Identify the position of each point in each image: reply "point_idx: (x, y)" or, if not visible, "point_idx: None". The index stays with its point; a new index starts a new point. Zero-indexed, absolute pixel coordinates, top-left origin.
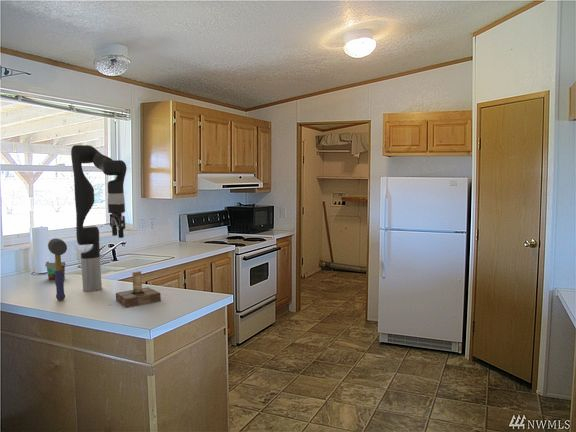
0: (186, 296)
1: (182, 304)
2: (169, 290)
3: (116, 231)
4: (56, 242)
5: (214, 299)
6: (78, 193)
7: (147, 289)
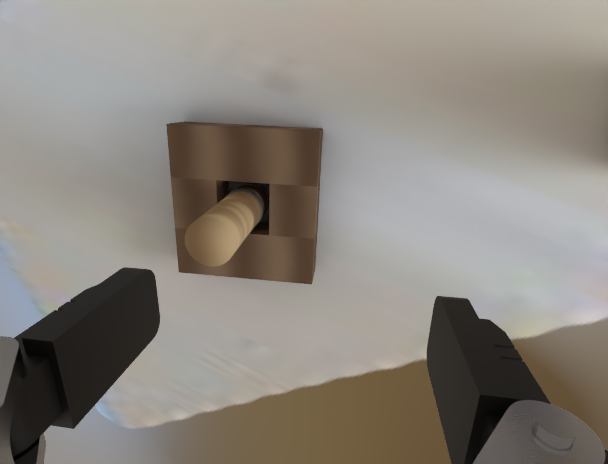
0: (198, 347)
1: None
2: (325, 352)
3: (439, 401)
4: None
5: None
6: None
7: (273, 263)
